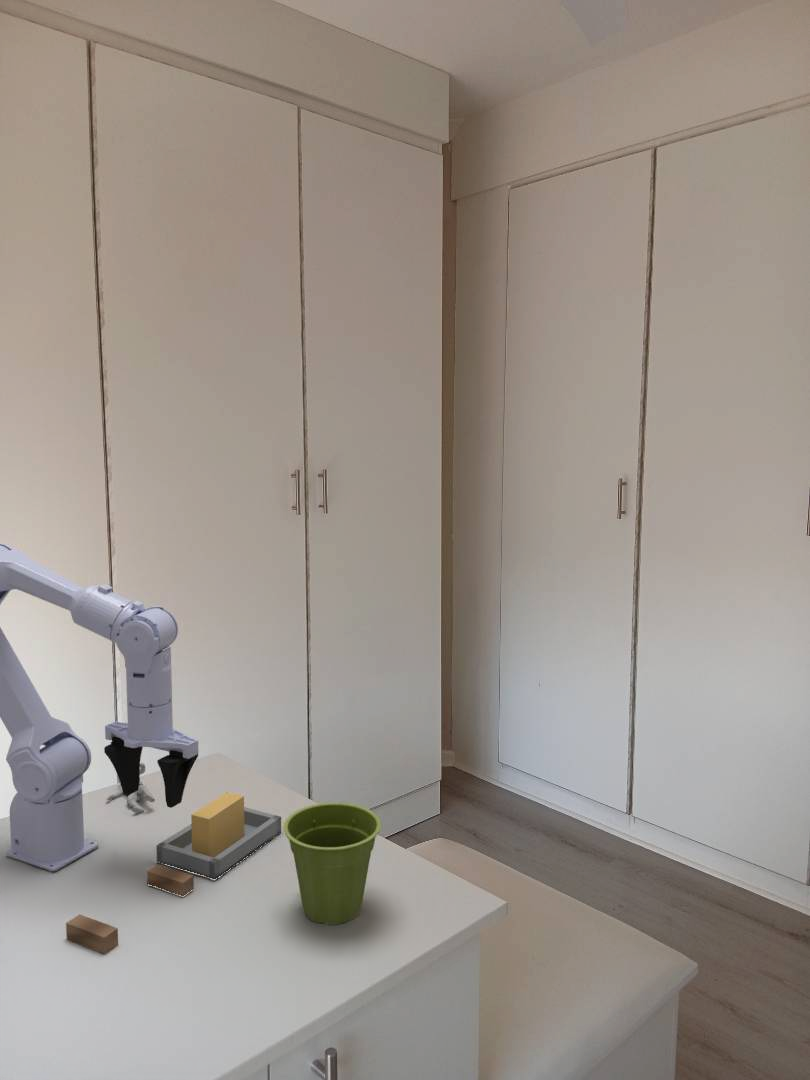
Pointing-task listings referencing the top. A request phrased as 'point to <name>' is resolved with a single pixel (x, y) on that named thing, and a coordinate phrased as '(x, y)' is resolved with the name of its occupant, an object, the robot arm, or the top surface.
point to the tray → (256, 835)
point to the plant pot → (332, 857)
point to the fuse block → (218, 825)
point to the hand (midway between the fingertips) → (152, 798)
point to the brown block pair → (107, 936)
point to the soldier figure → (135, 794)
